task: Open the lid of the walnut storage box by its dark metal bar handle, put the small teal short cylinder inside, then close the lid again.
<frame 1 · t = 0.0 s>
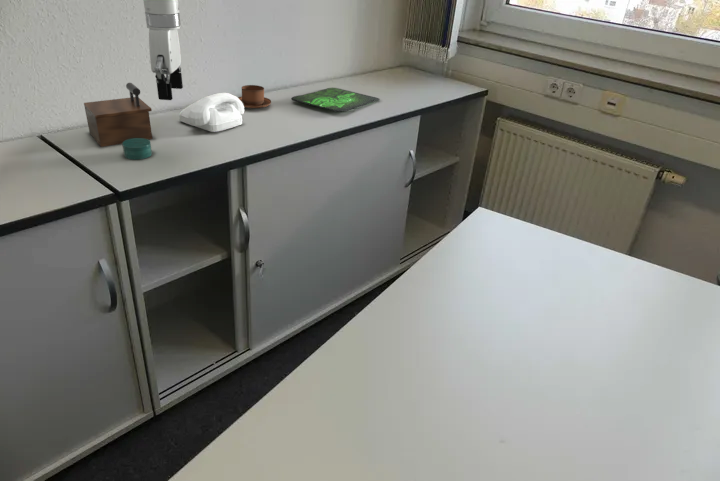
hand: (171, 93, 135), 16 cm above the table, tool pointing down, fingers open, 9 cm apart
teal short cylinder: (138, 154, 141), on the table
lid: (116, 97, 146), point 11 cm above the table, hinge at 0.0°
telephone: (211, 123, 165), on the table
box: (121, 136, 151), on the table
mouse mat: (336, 100, 193), on the table
cup and saucer: (253, 106, 182), on the table
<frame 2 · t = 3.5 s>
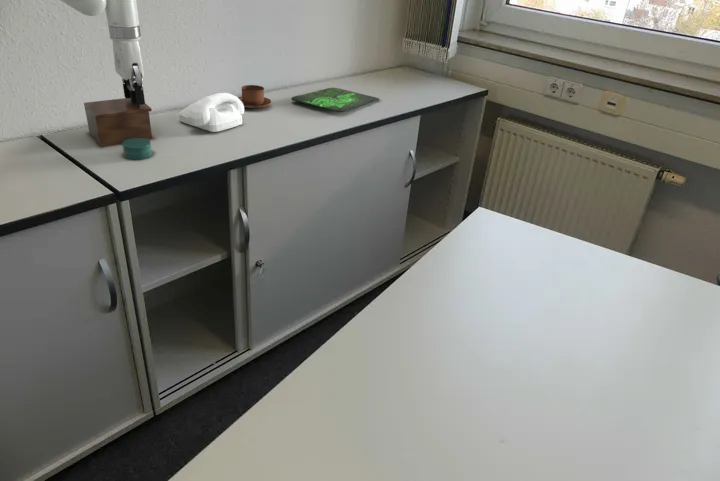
hand: (134, 100, 149), 9 cm above the table, tool pointing down, fingers closed on lid, 6 cm apart
lid: (116, 97, 146), point 11 cm above the table, hinge at 0.0°, touching gripper
everything else where it was.
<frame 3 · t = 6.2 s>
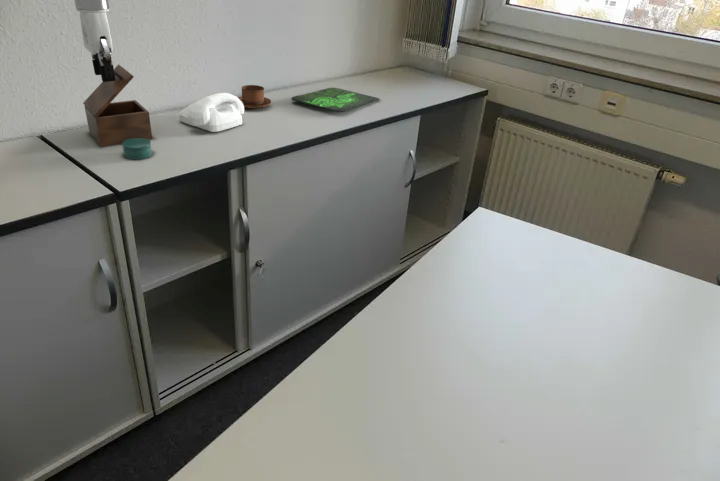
hand: (105, 77, 142), 16 cm above the table, tool pointing down, fingers closed on lid, 6 cm apart
lid: (100, 83, 142), point 15 cm above the table, hinge at 41.4°, touching gripper
everything else where it was.
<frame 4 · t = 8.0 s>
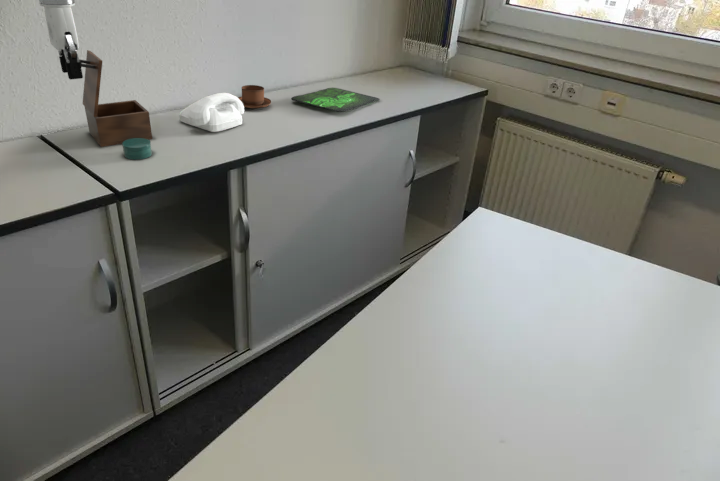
hand: (72, 74, 137), 18 cm above the table, tool pointing down, fingers closed on lid, 6 cm apart
lid: (81, 81, 139), point 16 cm above the table, hinge at 75.3°, touching gripper
everything else where it was.
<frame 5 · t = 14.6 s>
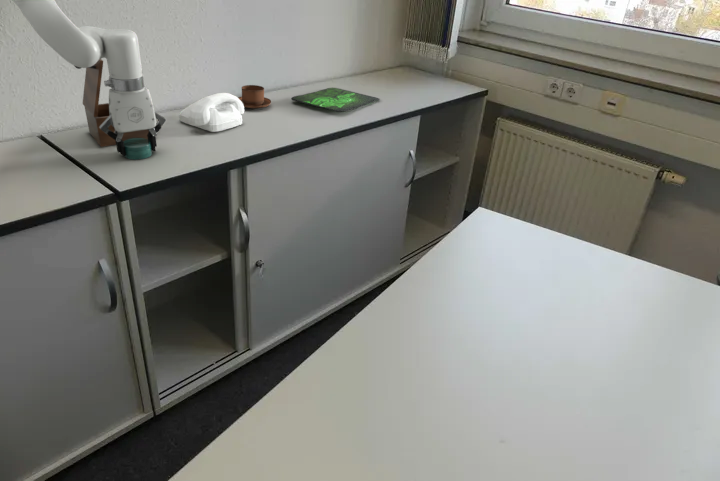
hand: (137, 151, 141), 1 cm above the table, tool pointing down, fingers closed on teal short cylinder, 6 cm apart
teal short cylinder: (138, 154, 141), on the table, touching gripper
lid: (82, 81, 139), point 16 cm above the table, hinge at 74.5°
everything else where it was.
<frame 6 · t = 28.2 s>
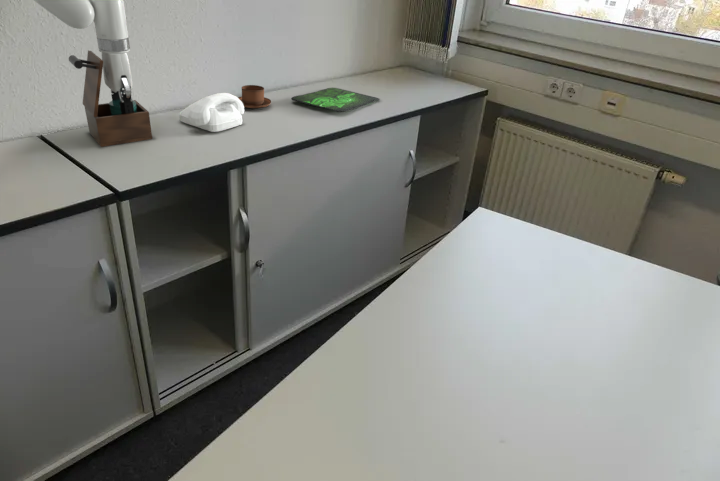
hand: (123, 111, 149), 7 cm above the table, tool pointing down, fingers closed on teal short cylinder, 6 cm apart
teal short cylinder: (124, 114, 149), point 6 cm above the table, touching gripper
everything else where it was.
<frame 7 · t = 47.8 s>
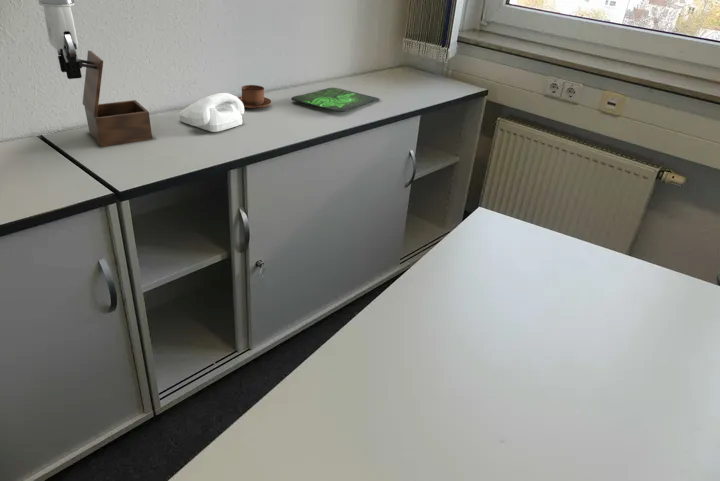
hand: (71, 74, 137), 18 cm above the table, tool pointing down, fingers closed on lid, 6 cm apart
teal short cylinder: (127, 132, 152), point 1 cm above the table, touching box
lid: (82, 81, 139), point 16 cm above the table, hinge at 74.5°, touching gripper
everything else where it was.
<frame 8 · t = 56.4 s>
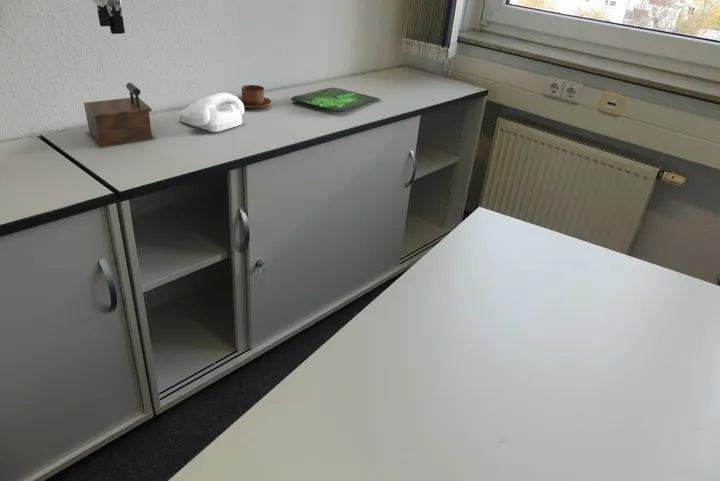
hand: (112, 29, 137), 28 cm above the table, tool pointing down, fingers open, 9 cm apart
lid: (116, 98, 146), point 11 cm above the table, hinge at -0.2°, touching box
everything else where it was.
at the end: lid reached +75° during the clip, +0° at the end; teal short cylinder inside the target area in the box (1.9 cm from its centre), point 0.8 cm above the box's base; lid at +0° (first picture: +0°) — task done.
